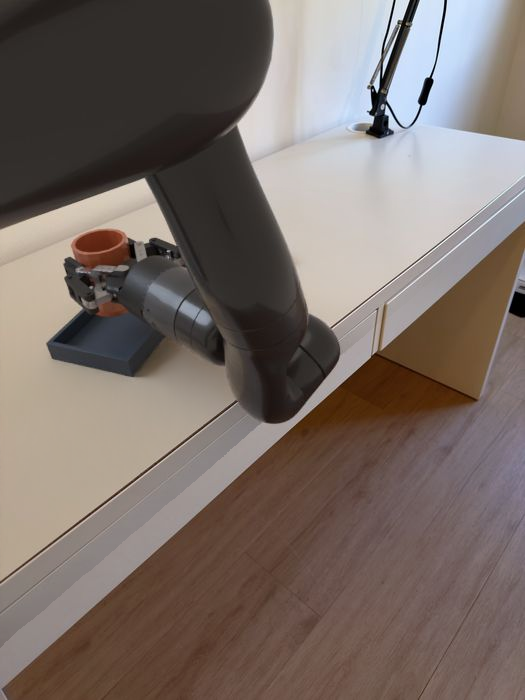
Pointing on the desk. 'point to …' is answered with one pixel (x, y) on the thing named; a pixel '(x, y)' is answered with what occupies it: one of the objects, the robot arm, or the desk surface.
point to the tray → (105, 342)
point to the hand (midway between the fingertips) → (94, 253)
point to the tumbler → (103, 258)
